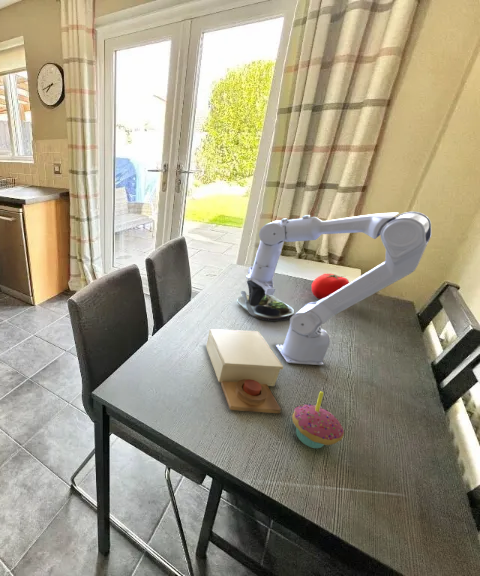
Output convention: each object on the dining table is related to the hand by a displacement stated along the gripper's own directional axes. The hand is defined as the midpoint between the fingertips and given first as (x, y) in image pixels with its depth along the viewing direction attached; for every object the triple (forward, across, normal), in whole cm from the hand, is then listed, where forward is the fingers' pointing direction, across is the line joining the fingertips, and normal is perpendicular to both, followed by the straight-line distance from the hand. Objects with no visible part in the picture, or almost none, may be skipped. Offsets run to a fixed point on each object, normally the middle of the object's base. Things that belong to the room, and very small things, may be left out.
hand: (253, 304), depth 93 cm
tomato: (+5, -26, +39) cm, 47 cm away
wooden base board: (+10, +28, -8) cm, 31 cm away
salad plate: (+11, -16, +12) cm, 22 cm away
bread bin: (+10, +16, -7) cm, 21 cm away
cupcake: (+10, +38, 0) cm, 40 cm away
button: (+7, +28, -9) cm, 31 cm away
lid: (+4, +17, -8) cm, 19 cm away
